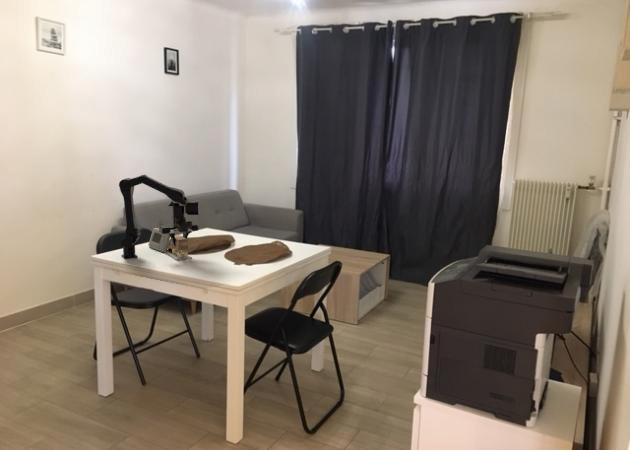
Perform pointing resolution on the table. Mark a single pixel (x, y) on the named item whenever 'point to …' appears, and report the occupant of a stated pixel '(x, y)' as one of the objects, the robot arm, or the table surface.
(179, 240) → the tan rectangular block
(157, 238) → the digital clock
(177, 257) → the peg stand
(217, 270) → the table surface
